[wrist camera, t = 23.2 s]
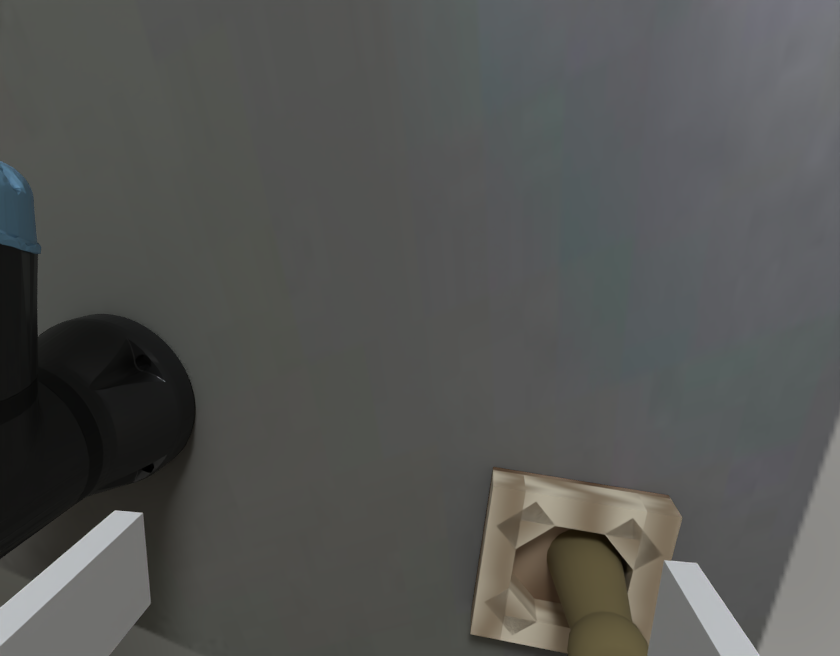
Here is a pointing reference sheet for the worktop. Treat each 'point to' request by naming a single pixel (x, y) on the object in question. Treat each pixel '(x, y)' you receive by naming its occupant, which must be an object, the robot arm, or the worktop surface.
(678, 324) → the worktop surface
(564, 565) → the olive green peg
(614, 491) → the holder block
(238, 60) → the worktop surface
